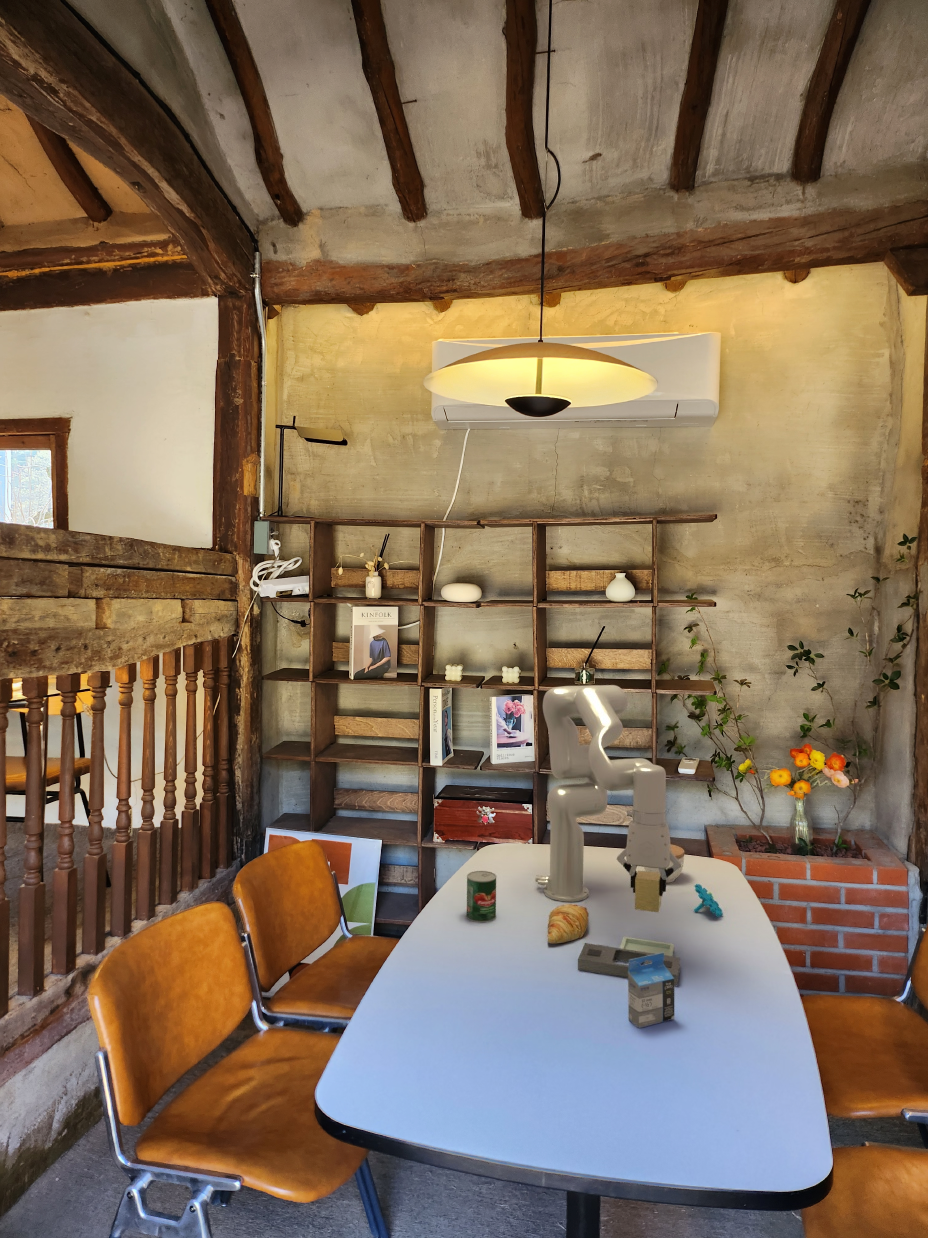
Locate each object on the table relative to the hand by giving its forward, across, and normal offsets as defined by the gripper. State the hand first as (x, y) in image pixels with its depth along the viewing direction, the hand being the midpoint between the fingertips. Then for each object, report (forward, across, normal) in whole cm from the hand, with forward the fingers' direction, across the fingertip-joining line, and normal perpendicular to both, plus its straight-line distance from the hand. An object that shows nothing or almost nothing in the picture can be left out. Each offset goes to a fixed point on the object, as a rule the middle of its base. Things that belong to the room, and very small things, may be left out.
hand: (648, 892), depth 188 cm
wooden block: (+4, 0, 0) cm, 4 cm away
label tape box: (+15, +4, -30) cm, 34 cm away
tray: (+15, 0, 0) cm, 15 cm away
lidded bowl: (+15, -1, +54) cm, 56 cm away
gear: (+15, +13, +31) cm, 37 cm away
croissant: (+15, -21, +6) cm, 26 cm away
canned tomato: (+15, -44, +7) cm, 47 cm away
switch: (+15, -3, -9) cm, 18 cm away
